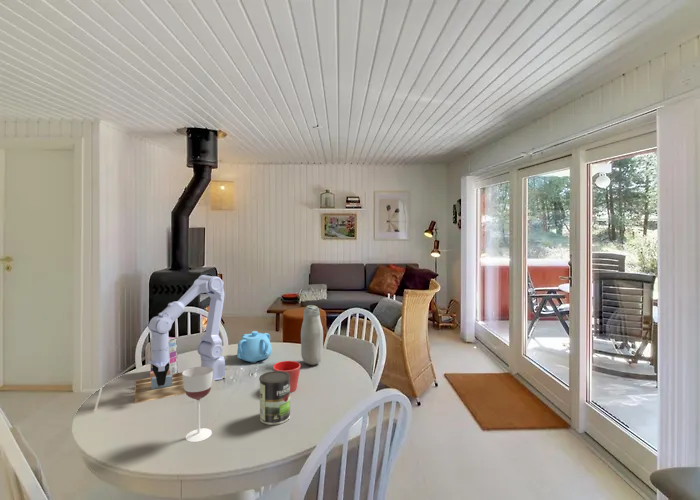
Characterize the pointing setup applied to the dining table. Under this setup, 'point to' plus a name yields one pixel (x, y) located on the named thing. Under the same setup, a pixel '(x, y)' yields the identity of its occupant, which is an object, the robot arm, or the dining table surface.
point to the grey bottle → (311, 336)
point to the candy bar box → (172, 355)
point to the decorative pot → (254, 347)
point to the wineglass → (198, 396)
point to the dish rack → (146, 394)
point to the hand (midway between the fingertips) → (161, 383)
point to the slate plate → (167, 384)
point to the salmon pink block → (155, 376)
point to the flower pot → (289, 371)
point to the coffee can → (274, 397)
